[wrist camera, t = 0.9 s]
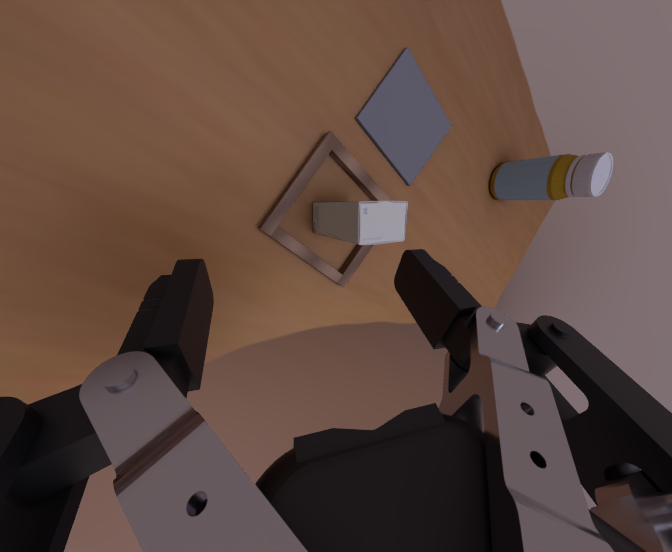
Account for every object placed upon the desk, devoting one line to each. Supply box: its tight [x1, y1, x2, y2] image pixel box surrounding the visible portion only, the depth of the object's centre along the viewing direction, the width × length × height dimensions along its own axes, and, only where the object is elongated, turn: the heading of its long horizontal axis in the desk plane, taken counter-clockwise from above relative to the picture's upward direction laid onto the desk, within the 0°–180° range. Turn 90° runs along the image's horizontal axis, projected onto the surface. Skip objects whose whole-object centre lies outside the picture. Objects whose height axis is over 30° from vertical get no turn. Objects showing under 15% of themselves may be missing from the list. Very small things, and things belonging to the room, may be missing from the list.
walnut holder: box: [258, 131, 391, 288], centre depth 35 cm, size 15×15×2 cm
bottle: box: [490, 152, 613, 200], centre depth 43 cm, size 7×7×15 cm
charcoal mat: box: [355, 47, 452, 186], centre depth 36 cm, size 13×12×1 cm
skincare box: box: [313, 201, 408, 245], centre depth 30 cm, size 6×4×12 cm
